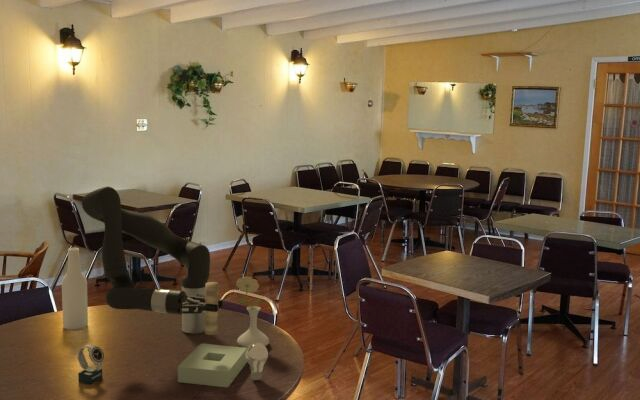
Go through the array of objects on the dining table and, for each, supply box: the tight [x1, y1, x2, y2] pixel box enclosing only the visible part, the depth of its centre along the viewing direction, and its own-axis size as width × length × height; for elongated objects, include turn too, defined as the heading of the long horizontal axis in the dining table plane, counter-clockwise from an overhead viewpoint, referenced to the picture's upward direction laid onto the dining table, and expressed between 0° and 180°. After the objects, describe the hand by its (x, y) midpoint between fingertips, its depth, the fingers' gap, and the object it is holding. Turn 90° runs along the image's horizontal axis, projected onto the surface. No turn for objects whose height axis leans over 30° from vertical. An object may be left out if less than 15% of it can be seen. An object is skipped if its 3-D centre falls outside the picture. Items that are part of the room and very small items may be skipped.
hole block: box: [177, 343, 248, 388], centre depth 207 cm, size 20×16×5 cm
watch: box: [77, 343, 105, 386], centre depth 198 cm, size 6×8×11 cm
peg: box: [204, 281, 219, 336], centre depth 204 cm, size 4×4×16 cm
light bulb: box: [246, 343, 269, 382], centre depth 201 cm, size 7×7×12 cm
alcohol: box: [61, 247, 89, 331], centre depth 243 cm, size 9×9×30 cm
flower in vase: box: [235, 275, 270, 348], centre depth 229 cm, size 13×11×25 cm
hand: (220, 306), depth 204 cm, fingers closed on peg, 4 cm apart
